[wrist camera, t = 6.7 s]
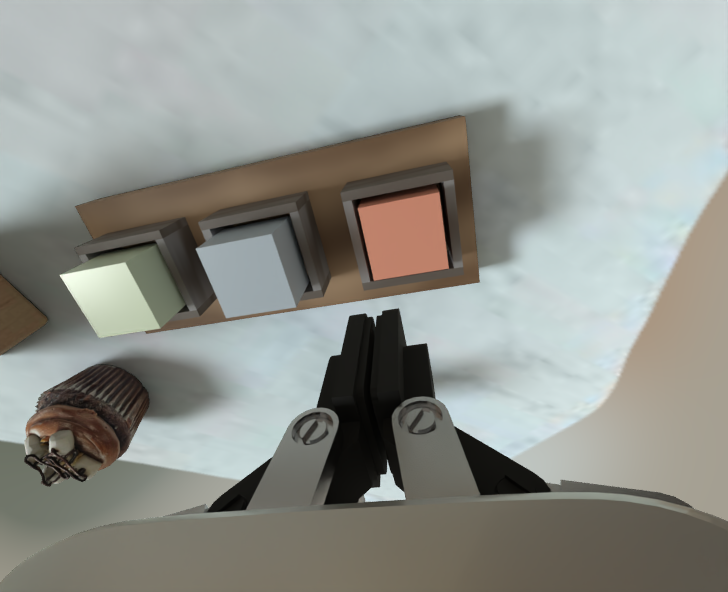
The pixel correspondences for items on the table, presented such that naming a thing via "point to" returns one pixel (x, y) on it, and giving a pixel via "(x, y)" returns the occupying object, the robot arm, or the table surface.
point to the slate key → (255, 267)
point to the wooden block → (16, 317)
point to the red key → (404, 232)
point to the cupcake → (84, 423)
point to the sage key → (125, 291)
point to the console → (299, 216)
